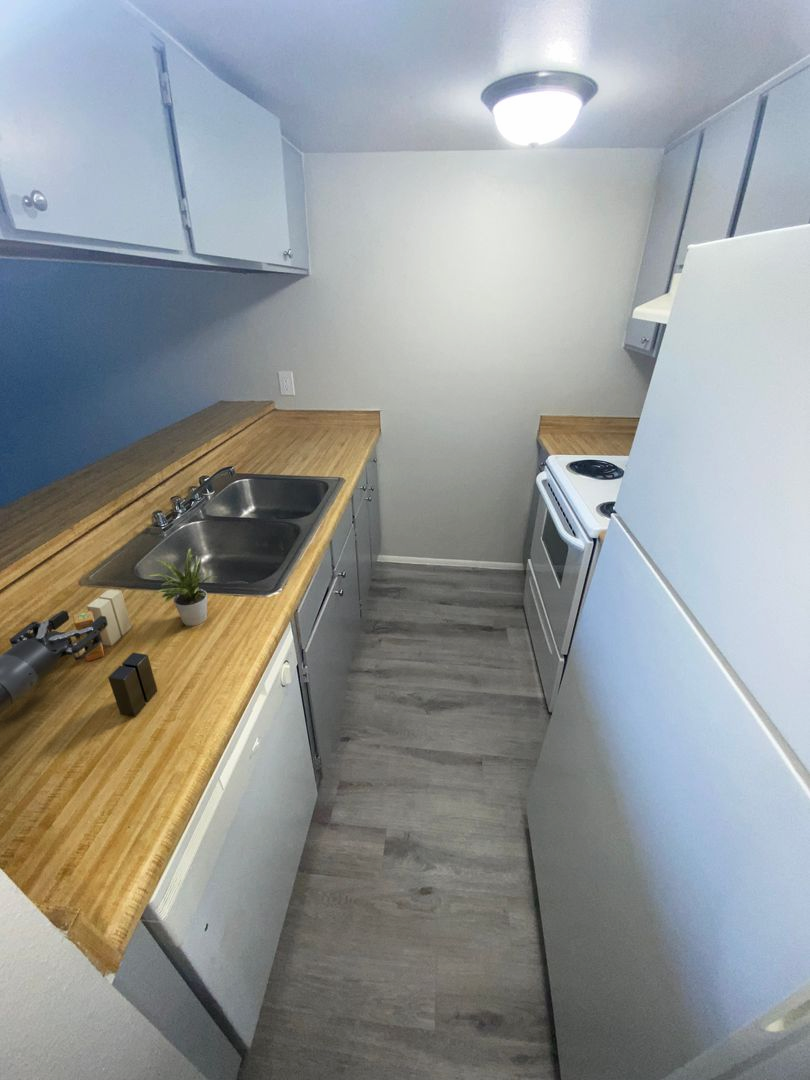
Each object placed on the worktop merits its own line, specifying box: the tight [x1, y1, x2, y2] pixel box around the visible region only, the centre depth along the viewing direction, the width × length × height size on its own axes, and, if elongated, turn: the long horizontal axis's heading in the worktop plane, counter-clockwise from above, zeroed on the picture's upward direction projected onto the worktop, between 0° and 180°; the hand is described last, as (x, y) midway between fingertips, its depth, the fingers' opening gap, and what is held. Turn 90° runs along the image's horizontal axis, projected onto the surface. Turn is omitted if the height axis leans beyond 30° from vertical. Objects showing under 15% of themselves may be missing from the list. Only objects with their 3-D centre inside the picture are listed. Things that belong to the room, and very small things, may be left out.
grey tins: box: [107, 652, 158, 718], centre depth 86 cm, size 6×3×9 cm, turn 171°
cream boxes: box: [86, 588, 132, 647], centre depth 102 cm, size 6×3×10 cm, turn 171°
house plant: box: [145, 547, 216, 627], centre depth 107 cm, size 14×14×16 cm
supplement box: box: [72, 610, 105, 662], centre depth 96 cm, size 3×3×10 cm
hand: (85, 616), depth 95 cm, fingers open, 8 cm apart
